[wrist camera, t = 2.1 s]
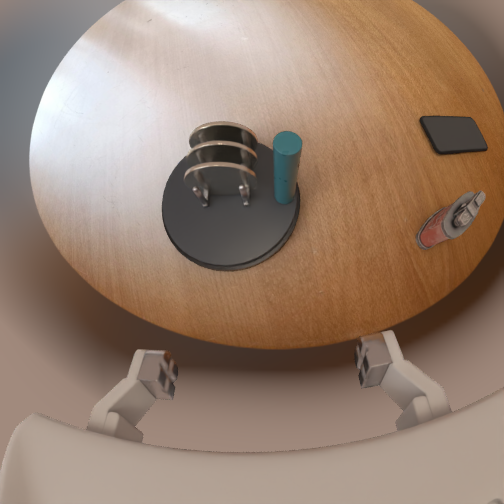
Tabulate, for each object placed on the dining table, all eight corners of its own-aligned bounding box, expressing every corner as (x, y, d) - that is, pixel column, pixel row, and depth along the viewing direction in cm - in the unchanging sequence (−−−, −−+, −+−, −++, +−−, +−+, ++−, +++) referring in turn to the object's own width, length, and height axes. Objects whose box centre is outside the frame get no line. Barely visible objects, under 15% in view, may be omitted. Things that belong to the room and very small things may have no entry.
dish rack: (297, 266, 32) (311, 244, 20) (159, 265, 34) (102, 245, 21) (293, 140, 35) (298, 74, 23) (172, 146, 37) (136, 90, 24)
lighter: (425, 255, 32) (467, 240, 22) (411, 235, 33) (450, 214, 23) (454, 222, 32) (494, 200, 23) (441, 204, 33) (479, 178, 23)
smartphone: (489, 149, 33) (438, 153, 33) (487, 151, 34) (435, 156, 34) (472, 116, 34) (418, 115, 35) (469, 118, 35) (416, 118, 36)
